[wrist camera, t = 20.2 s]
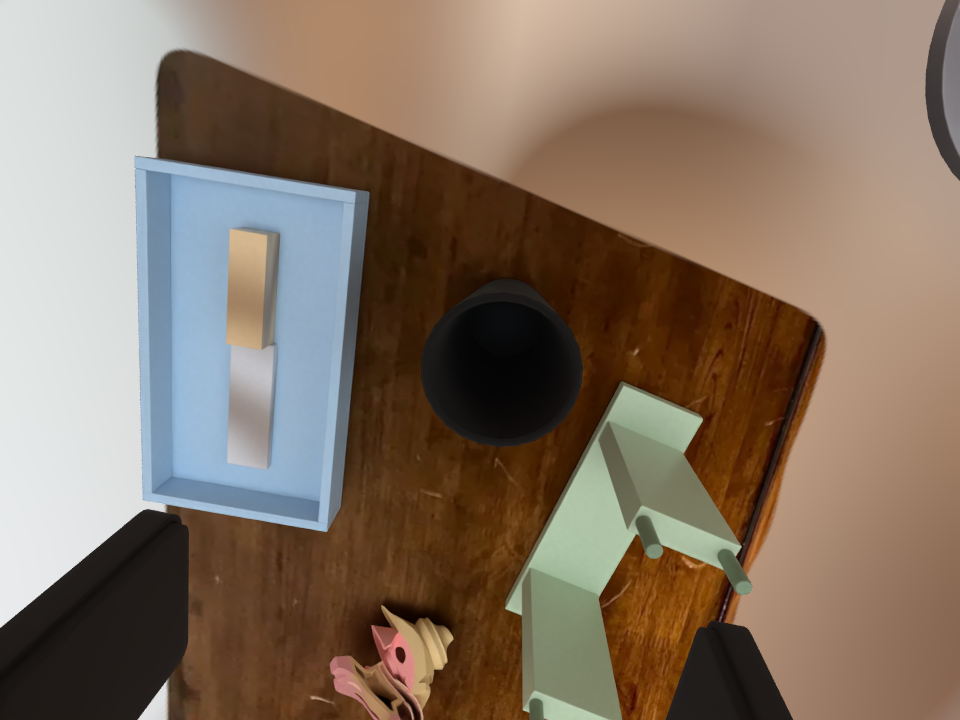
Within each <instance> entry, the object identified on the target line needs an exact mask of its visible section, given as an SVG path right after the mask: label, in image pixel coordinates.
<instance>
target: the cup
mask: <svg viewBox="0 0 960 720" xmlns="http://www.w3.org/2000/svg"><path fill="white" fill-rule="evenodd" d="M582 371H583V366H582V360H581V354H580V348H579V346H578V344H577V342H576V340H575V337H574V335H573V333H572V331H571V330H570V328H569V327H568V326H567V325H566V323H565V322H564V321H563V320H562V318H561V317H560V316H559V315H558V314H557V313H556V312H555V310H554V309H553V308H552V307H551V306H550V305H549V304H548V303H547V302H546V301H545V300H544V299H543V298H542V297H541V296H540V294H539V293H538V292H537V291H536V290H535V289H533V288H532V287H531V286H529V285H528V284H526V283H524V282H521V281H519V280H514V279H497V280H494V281H491V282H488V283H487V284H485V285H484V286H482V287H481V288H479V289H478V290H476V291H475V292H474V293H472V294H471V295H469V296H468V297H467V298H465V299H464V300H463V301H461V302H460V303H458V304H457V305H456V306H454V307H453V308H452V309H450V310H449V311H448V312H447V313H446V314H445V315H444V316H443V317H442V318H441V319H440V320H439V321H438V322H437V323H436V324H435V326H434V328H433V330H432V331H431V333H430V335H429V337H428V339H427V340H426V343H425V347H424V351H423V355H422V358H421V379H422V383H423V387H424V391H425V395H426V397H427V399H428V401H429V403H430V405H431V407H432V409H433V410H434V412H435V413H436V414H437V416H438V417H439V418H440V419H441V420H442V421H443V422H444V423H445V425H446V426H448V427H449V428H450V429H452V430H453V431H455V432H456V433H457V434H459V435H460V436H462V437H464V438H467V439H469V440H471V441H474V442H476V443H479V444H484V445H490V446H496V447H504V446H518V445H521V444H525V443H528V442H532V441H535V440H537V439H538V438H540V437H542V436H544V435H546V434H548V433H549V432H551V431H552V430H553V429H554V428H555V427H557V426H558V425H559V424H560V423H561V422H562V421H563V420H564V419H565V418H566V416H567V415H568V413H569V412H570V410H571V409H572V407H573V406H574V404H575V402H576V399H577V396H578V394H579V391H580V388H581V382H582Z"/></svg>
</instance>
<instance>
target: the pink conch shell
mask: <svg viewBox="0 0 960 720" xmlns="http://www.w3.org/2000/svg"><path fill="white" fill-rule="evenodd" d="M381 609H382V611H383V613H384V615H385V617H386V619H387V620H388V622H389V624H390V626H391V627H392V628H388V627H381V626H375V625H372V632H373V637H374V640H375V643H376V646H377V649H378V652H379V655H380V657H381V660H382V661H381V662H379V663H378V664H376V665H374V666H372V667H370V666H365V668H363V667H362V666H361V665H360V664H359V663H358V662H357V661H355V660H354V659H353V658H352V657H351V656H336V657H335V658H334V659H333V660H332V661H331V663H330V669H331V673H332V674H334V675H335V678H336V679H334V685H335V689H336V690H337V691H338V692H340V693H342V694H345V695H347V696H350V697H353V698H355V699H357V700H358V701H359V702H361V703H362V704H363V705H364V706H365V707H366V709H367V710H368V712H369V713H370V715H371V716H372V718H373V719H375V720H423V714H422V709H423V707H424V706H425V704H426V702H427V700H428V698H429V695H430V687H429V684H431V683H432V680H433V675H434V669H442V668H443V667H444V665H445V663H447V656H446V651H447V647H448V645H449V644H450V642H451V641H452V640H453V636H452V635H451V633H450V632H449V630H448V629H447V628H446V627H445V626H437V625H435V624H433V623H432V622H431V621H430V620H429V619H428V618H427V617H426V618H425V619H423V618H419V619H418V621H417V622H416V624H415V625H413V624H412V623H410V622H408V621H406V620H404V619H402V618H400V617H398V616H396V615H393V614H391V613H390V612H389V611H388V610H387V609H386V608H385V607H384V606H383V605H382V606H381Z"/></svg>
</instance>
